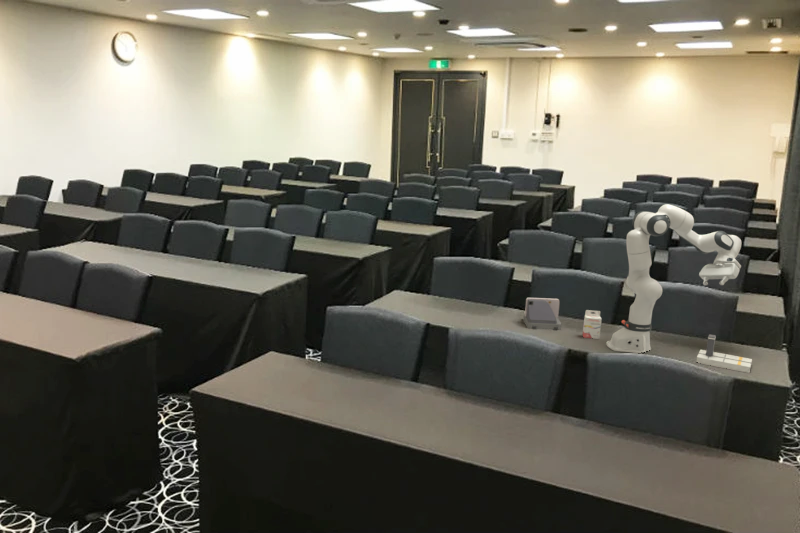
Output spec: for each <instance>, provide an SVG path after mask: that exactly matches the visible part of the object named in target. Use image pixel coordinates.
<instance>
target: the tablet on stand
mask: <svg viewBox="0 0 800 533" xmlns="http://www.w3.org/2000/svg"><path fill="white" fill-rule="evenodd" d="M524 309H525V310H524V312H523V318H522V319H523V320H522V321H523V322H524V324H525V325H526V327H527V329H530V330H553V331H554V330H555V331H560V330H561V329H562V322H561V321H560V319H559V311H560V299H559V298H549V297H548V298H546V297H526V299H525V308H524Z"/></svg>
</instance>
